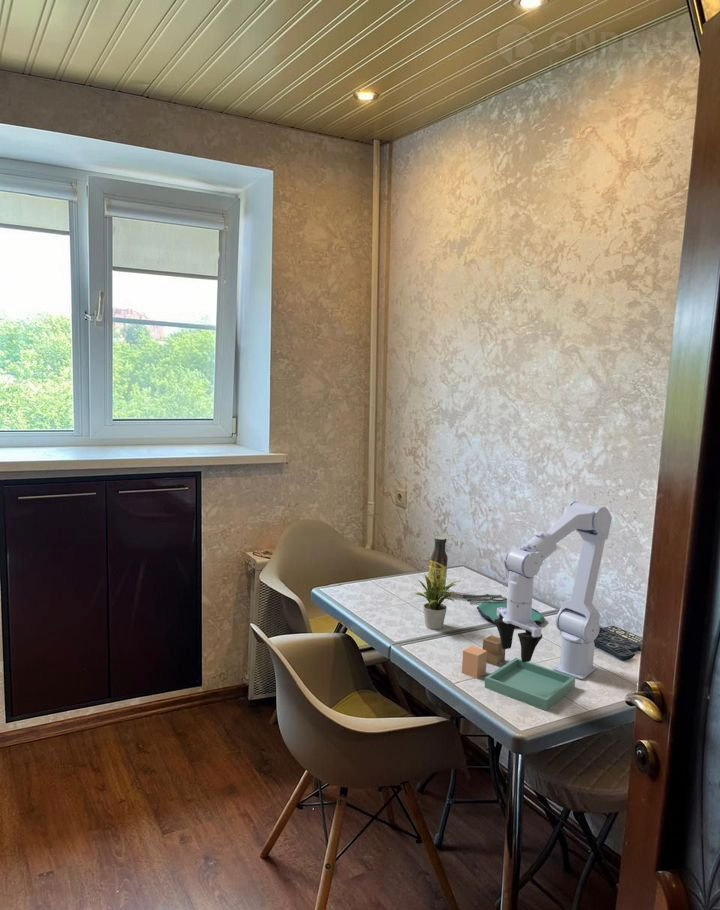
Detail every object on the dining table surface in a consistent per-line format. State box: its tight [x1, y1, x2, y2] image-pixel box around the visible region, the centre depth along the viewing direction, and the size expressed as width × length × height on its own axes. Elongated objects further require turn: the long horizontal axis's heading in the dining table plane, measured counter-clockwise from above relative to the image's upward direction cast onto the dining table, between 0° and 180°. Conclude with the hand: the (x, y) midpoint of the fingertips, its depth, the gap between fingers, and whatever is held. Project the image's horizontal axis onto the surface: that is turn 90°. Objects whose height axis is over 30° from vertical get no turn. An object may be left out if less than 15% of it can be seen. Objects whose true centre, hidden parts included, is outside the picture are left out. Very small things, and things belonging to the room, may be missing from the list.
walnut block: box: [482, 634, 506, 667], centre depth 175 cm, size 4×4×6 cm
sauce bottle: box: [427, 535, 449, 593], centre depth 228 cm, size 7×6×20 cm
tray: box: [484, 657, 576, 711], centre depth 161 cm, size 16×16×2 cm
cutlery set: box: [462, 593, 545, 624], centre depth 214 cm, size 20×30×2 cm, turn 13°
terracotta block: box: [461, 645, 487, 679], centre depth 168 cm, size 4×4×6 cm
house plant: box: [415, 573, 460, 631], centre depth 196 cm, size 14×14×16 cm
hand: (516, 654), depth 157 cm, fingers open, 7 cm apart
